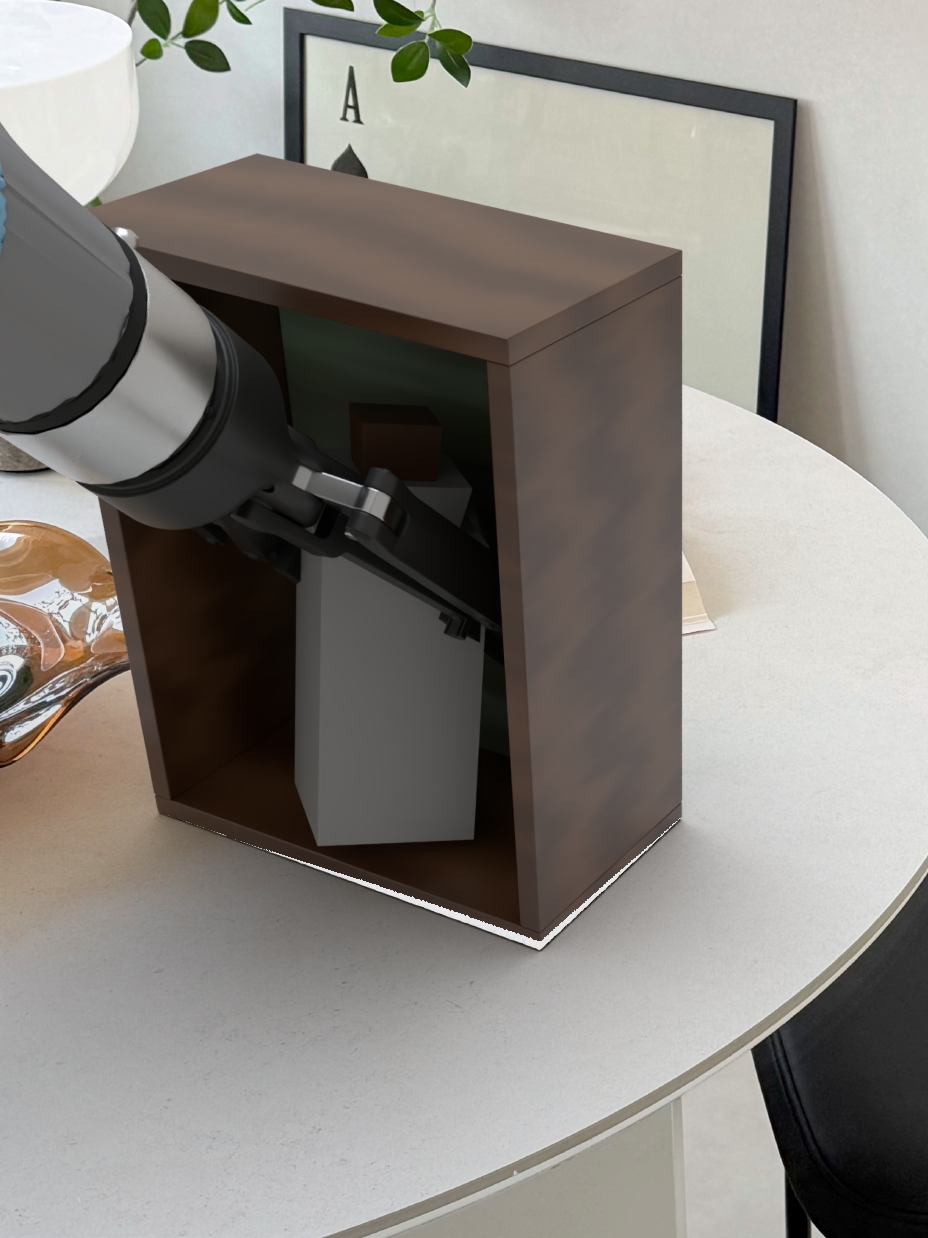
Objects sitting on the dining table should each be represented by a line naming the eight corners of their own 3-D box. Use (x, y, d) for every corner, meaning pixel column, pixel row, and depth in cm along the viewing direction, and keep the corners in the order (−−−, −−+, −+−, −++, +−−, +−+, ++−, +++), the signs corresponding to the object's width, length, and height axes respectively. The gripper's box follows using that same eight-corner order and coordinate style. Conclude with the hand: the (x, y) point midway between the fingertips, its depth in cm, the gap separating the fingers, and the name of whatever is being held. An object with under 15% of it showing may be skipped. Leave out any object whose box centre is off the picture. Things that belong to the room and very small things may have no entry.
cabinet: (540, 952, 84) (507, 338, 68) (157, 812, 90) (45, 222, 75) (682, 818, 93) (683, 249, 77) (324, 700, 99) (256, 152, 83)
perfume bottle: (473, 839, 87) (495, 439, 79) (317, 846, 84) (323, 432, 76) (442, 777, 93) (459, 397, 85) (294, 782, 90) (298, 389, 82)
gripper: (422, 354, 64) (674, 601, 86) (-52, 231, 71) (293, 490, 92) (335, 562, 63) (612, 759, 85) (-137, 419, 70) (232, 636, 91)
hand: (446, 619), depth 88 cm, fingers open, 8 cm apart
